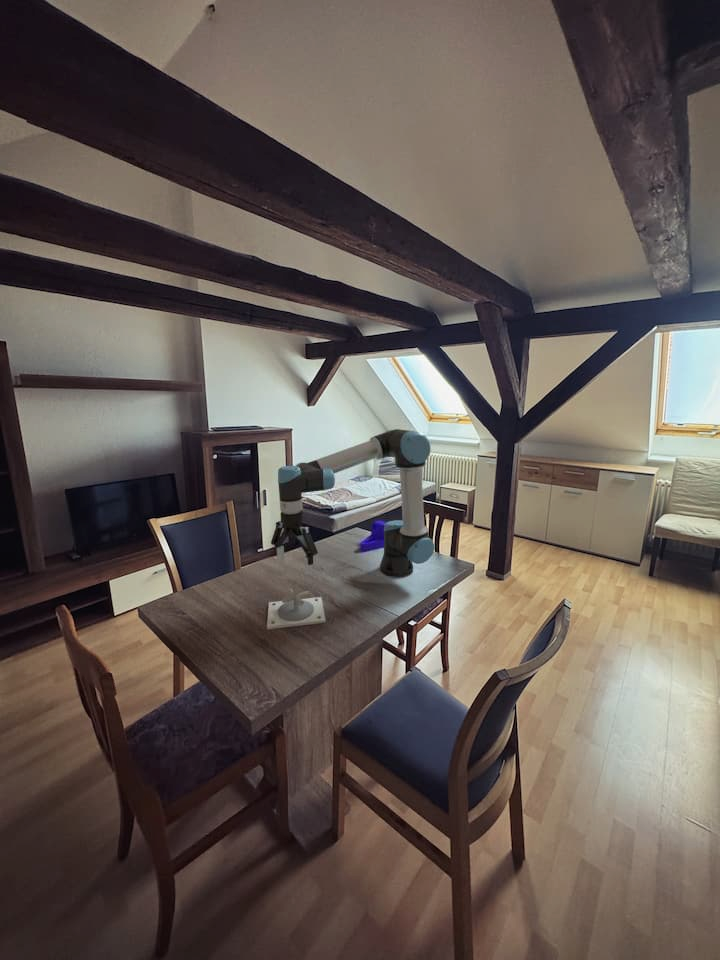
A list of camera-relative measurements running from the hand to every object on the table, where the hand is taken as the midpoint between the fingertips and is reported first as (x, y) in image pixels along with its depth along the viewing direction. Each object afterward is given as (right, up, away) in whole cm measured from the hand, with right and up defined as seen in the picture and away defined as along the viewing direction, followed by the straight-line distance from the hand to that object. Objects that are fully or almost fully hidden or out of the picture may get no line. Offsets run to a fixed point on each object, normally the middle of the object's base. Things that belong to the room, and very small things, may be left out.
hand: (294, 568), depth 135 cm
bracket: (+30, -4, +65) cm, 72 cm away
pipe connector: (0, -16, +3) cm, 16 cm away
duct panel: (0, -17, +4) cm, 18 cm away
